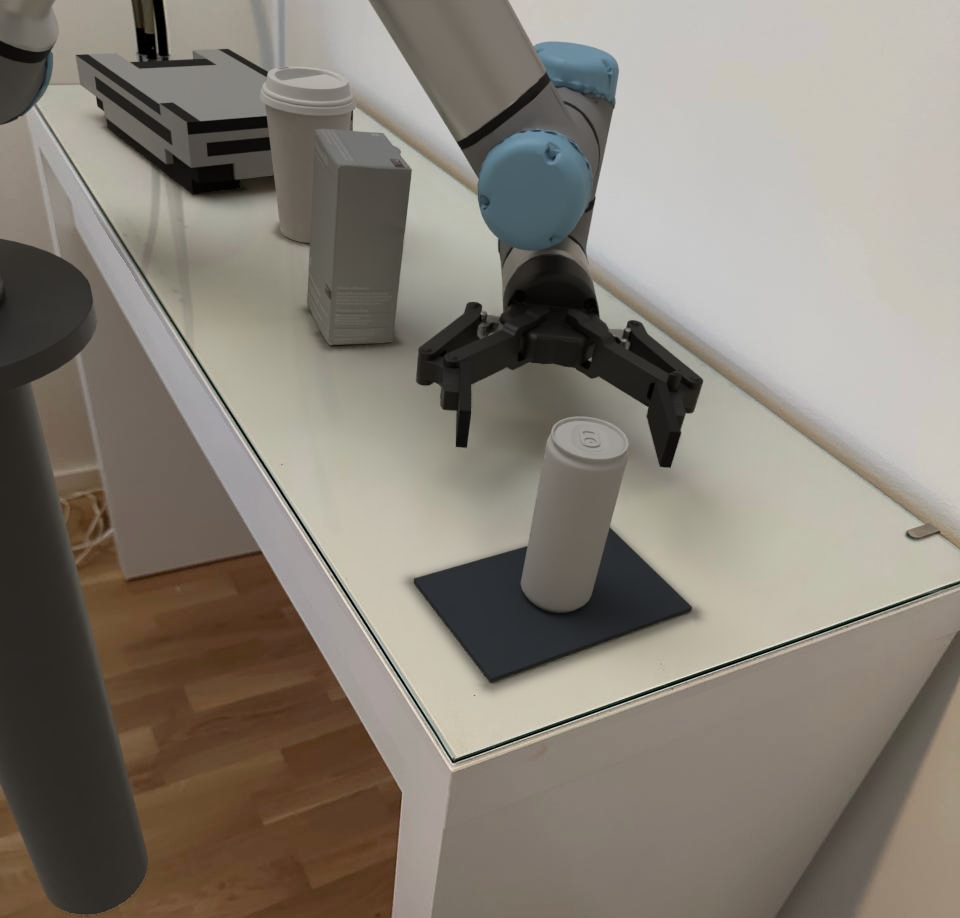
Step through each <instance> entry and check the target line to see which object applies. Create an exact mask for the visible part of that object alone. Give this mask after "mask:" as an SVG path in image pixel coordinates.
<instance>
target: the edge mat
mask: <svg viewBox="0 0 960 918" xmlns="http://www.w3.org/2000/svg"><path fill="white" fill-rule="evenodd" d="M527 547H528V545H525V546H522V547H520V548H516V549H512V550H508V551H505V552H502V553H498V554H494V555H490V556H487V557H483V558H480V559H477V560H474V561H471V562H466V563H462V564H460V565H456V566H452V567H450V568H446V569H442V570H439V571H435V572H432V573H429V574H425V575H420V576H418V577H414V578H413V584H414V586H415V587H416V588H417V589H418V591H419V593H421V595H422V596H423V597H424V598H425V600H426V601H427V603H428V604H429V605H430V606H431V607H432V609H433V610H434V611H435V613H436V614H437V615H438V617H439V618H440V619H441V620H442V622H443V624H444V625H445V626H446V627H447V628H448V630H449V631H450V632H451V634H452V635H453V637H454V638H455V639H456V640H457V642H458V643H459V644H460V646H461V647H462V648H463V649H464V651H465V652H466V653H467V654H468V656H469V657H470V658H471V660H472V661H473V662H474V663H475V665H476V666H477V667H478V668H479V670H480V671H481V673H482V674H483V675H484V676H485V678H486V680H487V681H488V682H489V683H490V684H491V683H494V682H496V681H500V680H502V679H505V678H508V677H511V676H514V675H516V674H520V673H522V672H526V671H528V670H530V669H534V668H536V667H539V666H542V665H544V664H547V663H550V662H553V661H556V660H558V659H561V658H565V657H567V656H570V655H573V654H576V653H578V652H580V651H584V650H587V649H590V648H593V647H595V646H598V645H601V644H603V643H606V642H609V641H612V640H614V639H615V640H616V639H617V638H621V637H623V636H626V635H628V634H632V633H635V632H636V631H637V632H638V631H639V630H642V629H645V628H648V627H651V626H654V625H657V624H659V623H662V622H665V621H668V620H670V619H674V618H676V617H678V616H681V615H685V614H688V613H690V612H692V609H693V606H692V605H691V604H690V603H689V602H687V600H686V599H685V598H684V597H682V596H681V594H680V593H678V592H677V591H676V590H675V588H673V587H672V585H670V583H668V582H667V581H666V580H665V579H664V578H663V577H662V576H661V575H660V574H659V573H658V572H656V570H654V568H652V566H651V565H650V564H648V562H646V561H645V560H644V558H642V557H641V556H640V554H638V553H637V552H636V551H635V550H634V549H633V548H632V547H631V546H630V545H629V544H628V543H627V542H626V541H625V540H624V539H623V538H622V537H621V536H619V534H617V533H616V532H615V531H614V530H613V529H612V528H611V527H610V528H609V531H608V535H607V539H606V543H605V546H604V550H603V554H602V558H601V561H600V565H599V569H598V573H597V577H596V580H595V584H594V588H593V592H592V595H591V597H590V599H589V601H588V602H587V603H586V604H585V605H584V606H582V607H580V608H578V609H576V610H574V611H570V612H566V613H556V612H549V611H546V610H543V609H541V608H539V607H537V606H536V605H534V604H533V603H532V602H531V601H530V600H529V599H528V598H527V597H526V595H525V594H524V592H523V591H522V587H521V579H522V573H523V568H524V563H525V558H526V552H527Z"/></svg>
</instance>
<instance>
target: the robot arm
mask: <svg viewBox="0 0 960 918" xmlns="http://www.w3.org/2000/svg"><path fill="white" fill-rule="evenodd" d="M367 1H368V2H369V4H370V5H371V7H372V9H373V10H374V12H375V13H376V15H377V17H378V19H379V20H380V22H381V23H382V25H383V26H384V28H385V30H386V32H387V33H388V34H389V36H390V37H391V40H392V41H393V43H394V44H395V46H396V47H397V49H398V51H399V52H400V54H401V56H402V57H403V58H404V61H405V62H406V63H407V65H408V68H409V69H410V70H411V71H412V73H413V75H414V76H415V78H416V80H417V81H418V83H419V84H420V86H421V88H422V89H423V91H424V93H425V94H426V96H427V97H428V99H429V100H430V102H431V104H432V105H433V107H434V108H435V110H436V112H437V113H438V115H439V117H440V118H441V120H442V122H443V123H444V125H445V126H446V128H447V129H448V131H449V133H450V134H451V136H452V138H453V139H454V141H455V143H456V144H457V146H458V147H459V149H460V150H461V152H462V154H463V155H464V157H465V159H466V161H467V162H468V164H469V166H470V167H471V169H472V171H473V173H474V174H475V176H476V177H477V179H478V181H477V184H476V185H477V202H478V207H479V210H480V214H481V217H482V219H483V222H484V224H485V225H486V227H487V228H488V230H489V231H490V232H491V233H492V234H493V235H494V236H495V237H496V238H497V252H498V254H499V260H500V269H501V270H500V271H501V290H502V291H501V293H502V295H501V296H502V297H501V298H502V312H501V314H500V315H494V314H489V313H488V312H487V311H485V310H483V305H482V304H481V303H480V302H479V301H468V302H467V303H466V305H465V308H464V311H463V314H461V315H460V316H458V317H457V318H456V319H454V320H453V321H452V322H450V323H449V324H448V325H447V326H445V327H444V328H443V329H441V330H440V331H439V332H437V333H436V334H435V335H434V336H432V337H431V338H430V339H429V340H427V341H426V342H424V343H423V344H421V345H420V346H419V347H418V349H417V362H416V373H415V374H416V375H415V382H416V384H418V385H419V386H423V387H428V386H431V385H433V384H437V385H438V386H439V387H440V395H439V399H440V402H439V403H440V404H439V406H440V408H441V409H442V410H443V411H451V412H452V411H453V412H456V415H455V448H460V449H461V448H462V449H468V443H469V436H470V435H469V434H470V428H471V427H470V426H471V419H472V411H473V410H472V407H473V406H472V403H473V402H472V398H473V397H472V391H473V389H472V385H474V384H476V383H479V382H480V381H482V380H484V379H487V378H488V377H491V376H493V375H495V374H497V373H498V372H501V371H503V370H505V369H509V370H510V371H515V370H517V369H519V368H521V367H523V366H525V365H527V364H529V363H530V364H535V365H554V366H555V365H556V366H560V367H565V368H573V369H575V370H576V371H578V372H579V373H581V374H582V375H584V376H586V377H587V378H589V379H591V380H595V379H597V378H600V379H602V380H603V381H605V382H607V383H608V384H610V385H611V386H613V387H614V388H616V389H617V390H619V391H621V392H622V393H624V394H626V395H627V396H629V397H631V398H632V399H634V400H636V401H637V402H639V403H640V404H642V405H644V406H645V407H647V408H648V409H647V412H646V415H645V416H646V421H647V425H648V428H649V432H650V436H651V439H652V444H653V447H654V452H655V455H656V458H657V463H658V466H659V468H664V469H665V468H666V469H671V468H672V465H673V462H674V458H675V455H676V452H677V449H678V446H679V443H680V439H681V436H682V428H683V425H684V421H685V419H686V418H685V417H686V414H690V415H691V414H693V413H694V412H695V409H696V407H697V403H698V400H699V397H700V394H701V390H702V387H703V384H704V378H702V377H701V376H700V375H699V374H697V373H696V372H695V371H694V370H693V369H691V368H690V367H689V366H688V365H687V364H685V363H684V362H683V361H681V360H680V359H679V358H678V357H677V356H676V355H674V354H673V353H672V352H671V351H669V350H668V349H667V348H665V346H664V345H662V344H660V343H659V342H658V341H657V340H656V339H654V337H652V336H651V335H650V334H649V333H648V332H647V330H646V328H645V326H644V324H643V323H642V322H641V321H639V320H636V319H630V320H628V321H626V325H625V327H624V329H617V328H609V326H608V324H607V323H606V322H605V321H603V319H601V318H600V317H601V315H600V308H599V303H598V298H597V294H596V290H595V285H594V280H593V276H592V272H591V268H590V263H589V259H588V255H587V245H588V240H589V234H590V229H591V224H592V219H593V214H594V209H595V208H594V207H595V204H596V197H597V196H596V193H597V189H598V185H599V180H600V176H601V172H602V166H603V161H604V156H605V153H606V148H607V142H608V137H609V132H610V129H611V124H612V118H613V113H614V110H615V107H616V103H617V102H616V99H617V98H616V94H617V87H618V81H619V74H620V68H619V63H618V61H617V60H616V58H615V57H614V56H613V55H612V54H610V53H609V52H606V51H604V50H602V49H600V48H596V47H594V46H590V45H586V44H581V43H576V42H568V41H555V40H553V41H543V42H539V43H536V44H534V45H533V43H532V41H531V39H530V37H529V36H528V33H527V32H526V30H525V28H524V26H523V25H522V23H521V21H520V19H519V17H518V15H517V13H516V11H515V10H514V8H513V6H512V4H511V2H510V0H367ZM55 2H56V0H0V126H2V125H6V124H10V123H12V122H14V121H16V120H18V118H20V117H24V116H25V114H27V113H28V112H29V111H30V110H32V109H33V107H35V105H36V104H37V103H38V102H39V101H40V100H41V99H42V97H44V94H45V93H46V91H47V89H48V87H49V85H50V82H51V79H52V74H53V68H54V53H53V52H52V50H53V48H54V47H55V45H56V43H57V40H58V38H59V34H60V33H59V32H60V31H59V30H60V27H59V23H58V20H57V16H56V14H55V11H54V9H53V5H54V3H55ZM5 296H6V295H5V289H4V285H3V281H2V277H1V275H0V307H1V306H2V305H3V303H4V300H5Z"/></svg>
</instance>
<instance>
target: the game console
mask: <svg viewBox="0 0 960 918" xmlns="http://www.w3.org/2000/svg"><path fill="white" fill-rule="evenodd" d="M191 51H192V58H187V59H186V58H185V59H165V60H145V61H144V60H143V61H141V60H140V61H129V60H128V59H126V58H124V57H123V56H121V55H120V54H118V53H117V52H111V53H84V54H75V61H76V67H77V72H78V79H79V85H80V86H81V87H82V88H84V89H85V90H87V91H88V92H89V93H91V94H92V95H93V96H94V97H95V100H96V106H97V108H99V109H100V110H101V111H102V112H103V114H104V118H105V121H106V127H107V129H108V130H110V131H111V132H112V133H113V134H114V135H116V136H118V137H119V138H120V139H121V140H122V141H124V142H125V143H126V144H127V145H129V146H130V147H131V148H133V149H134V150H135V151H137V152H138V153H139V154H140V155H142V156H143V157H144V158H145V159H146V160H148V161H149V162H151V163H152V164H153V165H154V166H155V167H157V168H158V169H159V170H161V171H162V172H163V173H165V175H167V176H169V177H170V178H171V179H172V180H174V181H175V182H176V183H177V184H178V185H180V186H181V187H183V189H185V190H186V191H188V192H189V193H190V194H191V195H193V196H194V195H200V194H202V195H203V194H208V193H217V192H224V191H225V192H226V191H233V190H241V189H242V188H241V180H245V179H253V178H263V177H270V176H271V177H272V176H274V171H273V163H272V155H271V146H270V138H269V130H268V122H267V114H266V106H265V103H263V102H262V101H261V99H260V93H261V89H262V86H263V84H264V83H265V82H266V79H267V74H268V72H269V70H266V69H264V68H263V67H261V66H259V65H257V64H255V62H252V61H250V60H249V59H247V58H245V57H243V56H241V55H239V53H236V52H234V51H233V50H231V49H229V48H213V49H192V50H191ZM350 131H354V110H353V111H351V121H350Z"/></svg>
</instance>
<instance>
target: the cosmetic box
mask: <svg viewBox="0 0 960 918" xmlns="http://www.w3.org/2000/svg"><path fill="white" fill-rule="evenodd" d="M401 154H402V150H401V149H400V148H399V147H397V146H395V145H393V144H392V142H391V141H390V139H389V138H388V136H387V135H386V134H385V133H384V132H374V131H373V132H372V131H360V130H359V131H358V130H353V131H347V130H337V129H316V130H315V144H314V167H313V189H312V211H311V232H310V243H309V253H308V255H309V256H308V273H307V274H308V279H307V295H306V297H307V298H306V304H307V308H308V309H309V311H310V314H311V316H312V318H313V321H314V322H315V324H316V326H317V327H318V329H319V332H320V333H321V335H322V337H323V338H324V340H325V341H326V343H327V344H328V345H329V346H339V345H340V346H341V345H358V344H359V345H362V344H367V345H368V344H385V343H393V342H394V333H395V325H396V315H397V305H398V297H399V288H400V279H401V270H402V260H403V253H404V242H405V233H406V226H407V218H408V207H409V199H410V192H411V181H412V174H413V169H412V167H411V166H409V164H408V163H407V161H406V160H405V159H404V158H403V157H402V155H401Z"/></svg>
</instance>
